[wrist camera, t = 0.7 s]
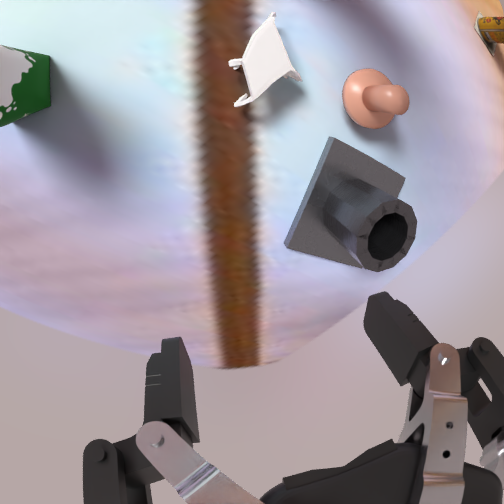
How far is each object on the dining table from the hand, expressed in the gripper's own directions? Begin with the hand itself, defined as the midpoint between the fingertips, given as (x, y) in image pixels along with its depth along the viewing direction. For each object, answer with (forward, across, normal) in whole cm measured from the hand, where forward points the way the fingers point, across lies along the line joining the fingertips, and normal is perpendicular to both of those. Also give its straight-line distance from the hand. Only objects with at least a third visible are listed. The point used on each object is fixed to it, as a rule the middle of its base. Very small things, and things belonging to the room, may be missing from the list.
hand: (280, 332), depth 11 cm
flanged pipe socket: (+26, -17, +7) cm, 32 cm away
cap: (+26, -20, -9) cm, 34 cm away
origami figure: (+27, -6, -14) cm, 31 cm away
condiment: (+28, -57, -30) cm, 69 cm away
